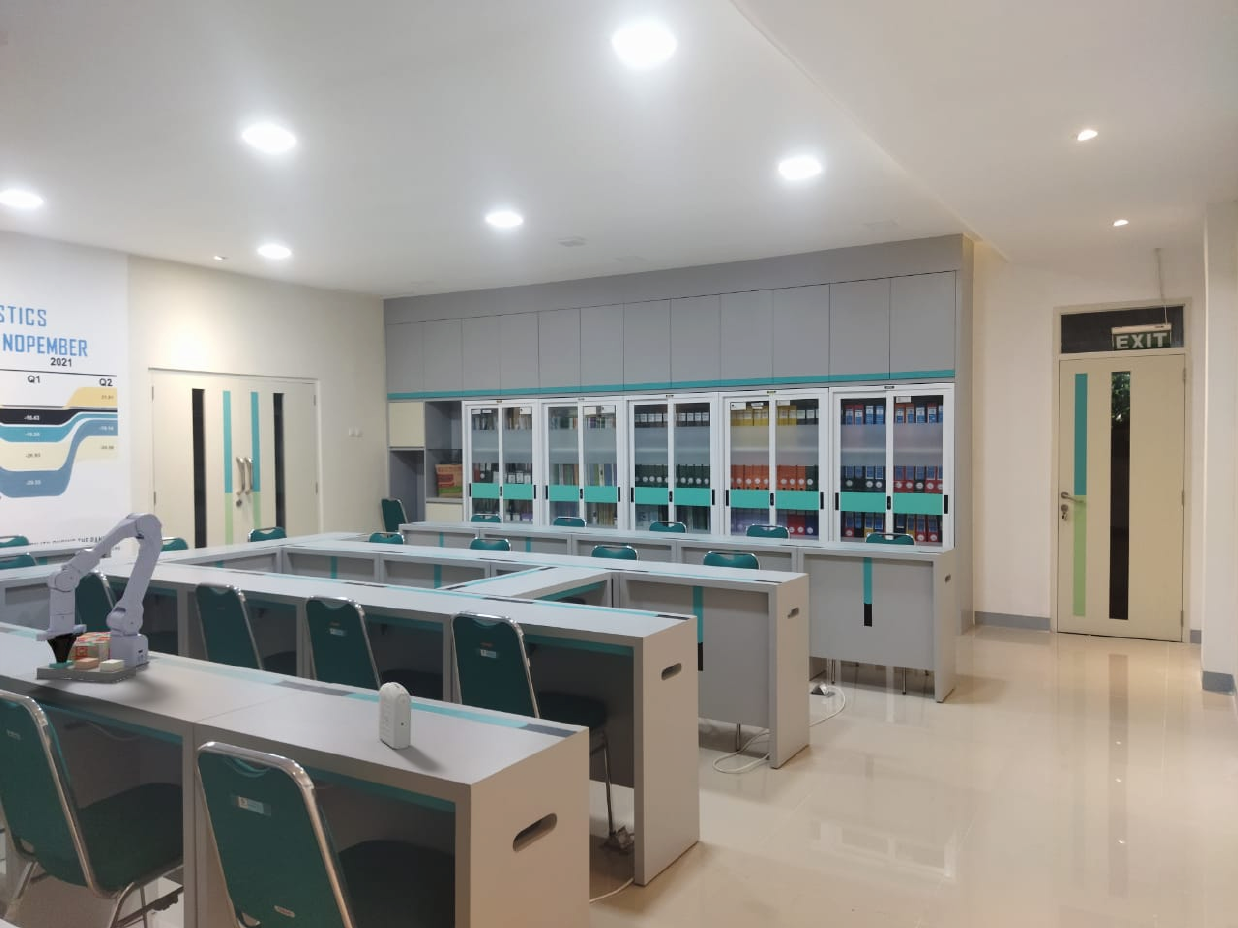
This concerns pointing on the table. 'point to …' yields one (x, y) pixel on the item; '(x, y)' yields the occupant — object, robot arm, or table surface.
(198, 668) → the table surface
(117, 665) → the cream button
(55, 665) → the teal button
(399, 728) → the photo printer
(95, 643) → the stack of blocks
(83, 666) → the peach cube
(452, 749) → the table surface
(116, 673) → the button panel
